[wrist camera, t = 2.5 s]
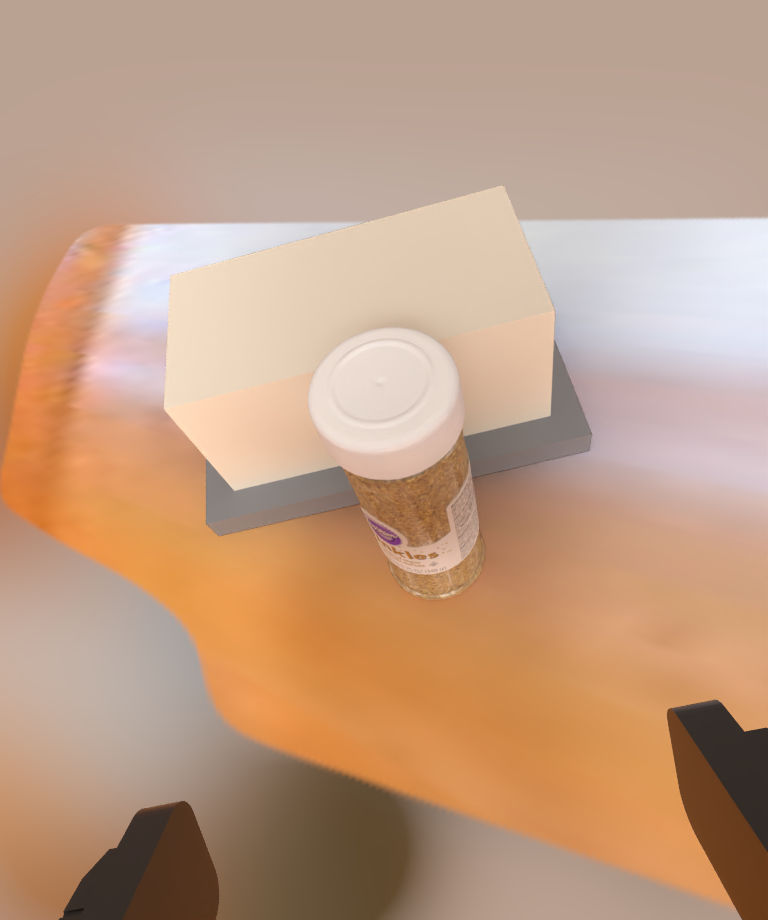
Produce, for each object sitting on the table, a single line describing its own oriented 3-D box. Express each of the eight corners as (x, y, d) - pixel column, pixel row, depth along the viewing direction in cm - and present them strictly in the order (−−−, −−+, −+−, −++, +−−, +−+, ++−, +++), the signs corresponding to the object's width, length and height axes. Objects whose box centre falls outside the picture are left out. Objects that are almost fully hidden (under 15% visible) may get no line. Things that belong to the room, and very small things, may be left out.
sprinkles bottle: (375, 584, 29) (276, 426, 18) (411, 500, 31) (341, 309, 20) (468, 617, 28) (424, 466, 16) (500, 526, 30) (481, 334, 18)
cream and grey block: (528, 293, 36) (527, 156, 29) (589, 450, 31) (607, 329, 23) (217, 372, 38) (142, 262, 31) (218, 536, 32) (126, 448, 25)
